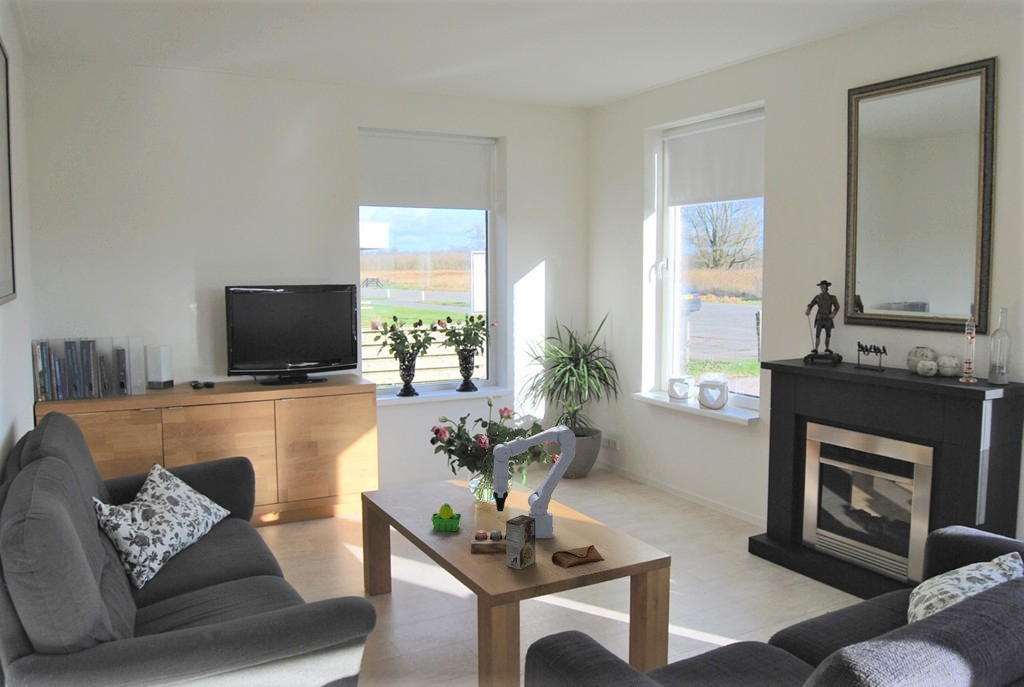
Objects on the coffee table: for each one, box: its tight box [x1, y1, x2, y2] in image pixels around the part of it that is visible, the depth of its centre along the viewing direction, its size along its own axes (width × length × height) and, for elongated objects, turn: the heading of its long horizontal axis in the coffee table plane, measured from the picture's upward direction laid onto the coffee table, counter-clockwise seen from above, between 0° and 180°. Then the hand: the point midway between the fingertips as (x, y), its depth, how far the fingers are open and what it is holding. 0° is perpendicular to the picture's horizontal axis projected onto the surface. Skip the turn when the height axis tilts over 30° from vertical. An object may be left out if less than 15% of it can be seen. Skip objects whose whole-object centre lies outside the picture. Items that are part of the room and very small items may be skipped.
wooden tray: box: [470, 531, 506, 553], centre depth 302 cm, size 18×13×3 cm
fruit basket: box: [430, 502, 462, 532], centre depth 320 cm, size 11×9×11 cm
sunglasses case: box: [551, 544, 606, 569], centre depth 287 cm, size 18×7×7 cm, turn 119°
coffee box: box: [505, 514, 537, 570], centre depth 282 cm, size 9×6×16 cm
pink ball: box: [475, 529, 488, 540], centre depth 302 cm, size 4×4×4 cm
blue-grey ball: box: [490, 529, 502, 540], centre depth 302 cm, size 4×4×4 cm
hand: (500, 510), depth 310 cm, fingers closed
